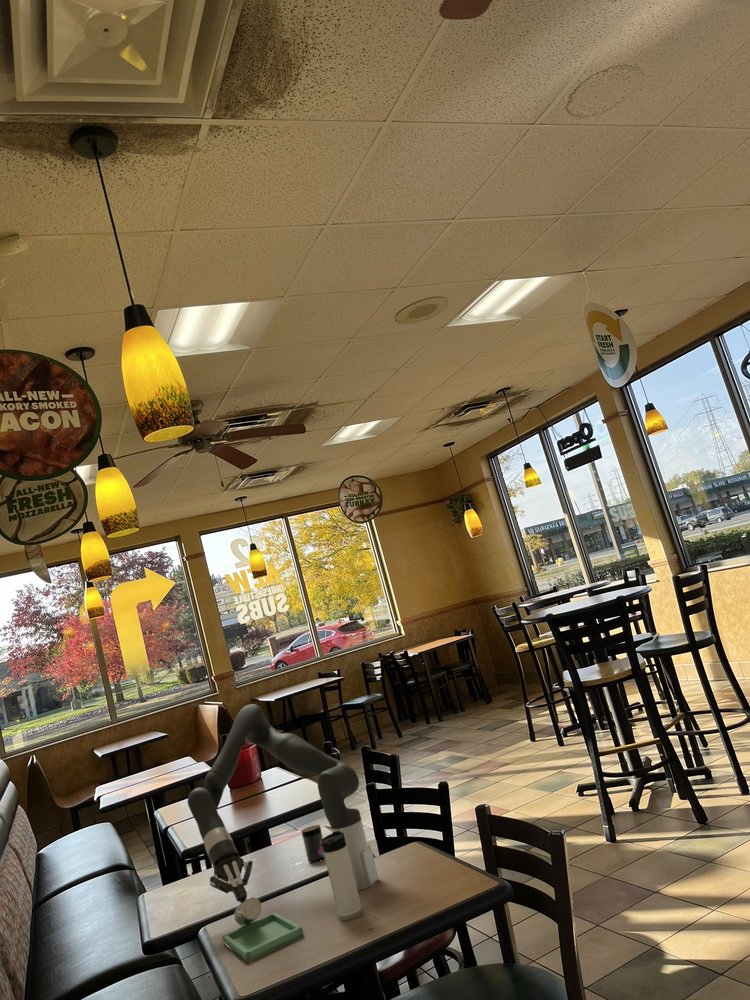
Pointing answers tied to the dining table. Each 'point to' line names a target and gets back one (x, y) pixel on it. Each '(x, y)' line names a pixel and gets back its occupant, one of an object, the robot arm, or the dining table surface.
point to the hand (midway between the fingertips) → (243, 900)
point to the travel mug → (341, 876)
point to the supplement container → (313, 843)
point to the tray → (262, 936)
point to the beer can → (248, 911)
